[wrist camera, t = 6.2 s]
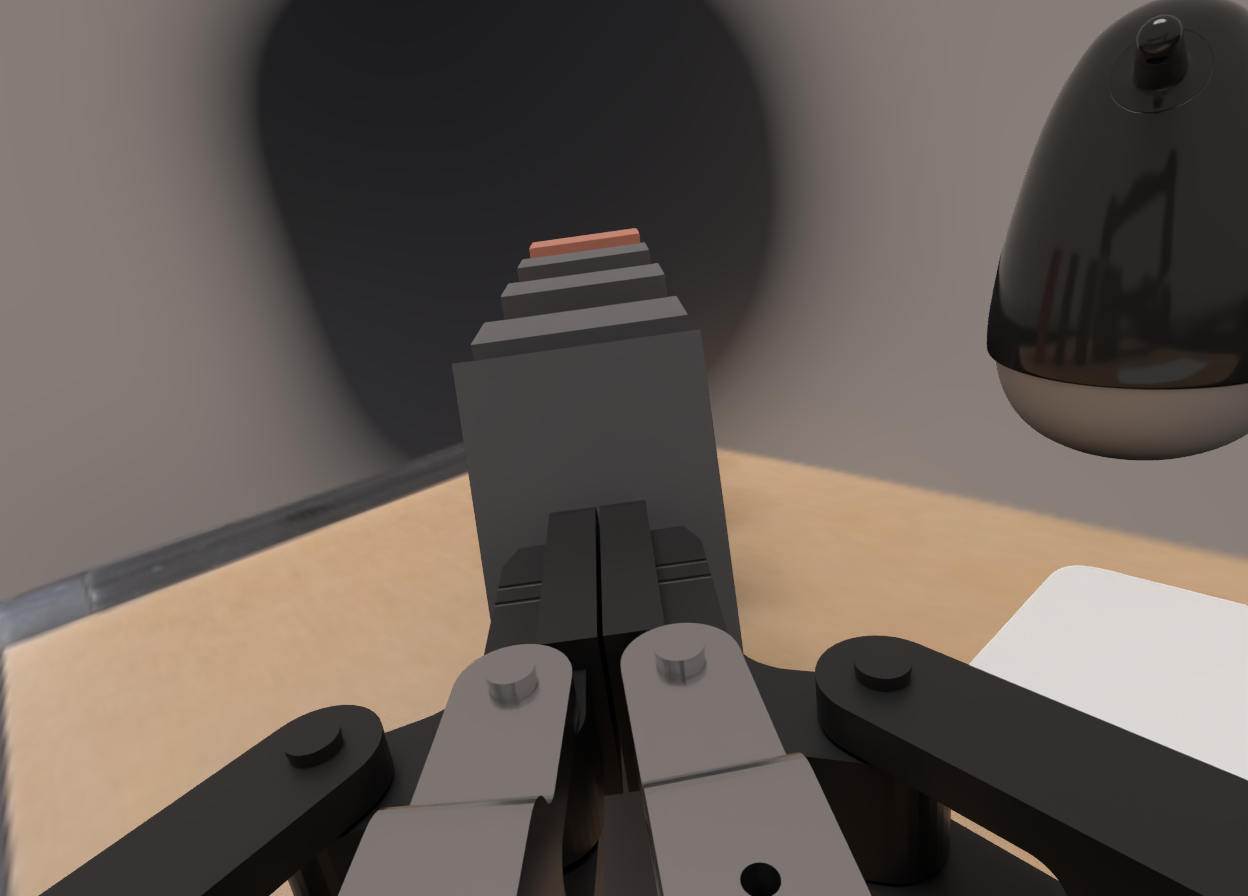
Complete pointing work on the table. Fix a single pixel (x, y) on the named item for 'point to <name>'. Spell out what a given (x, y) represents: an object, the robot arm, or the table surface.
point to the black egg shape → (1135, 243)
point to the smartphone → (1135, 659)
